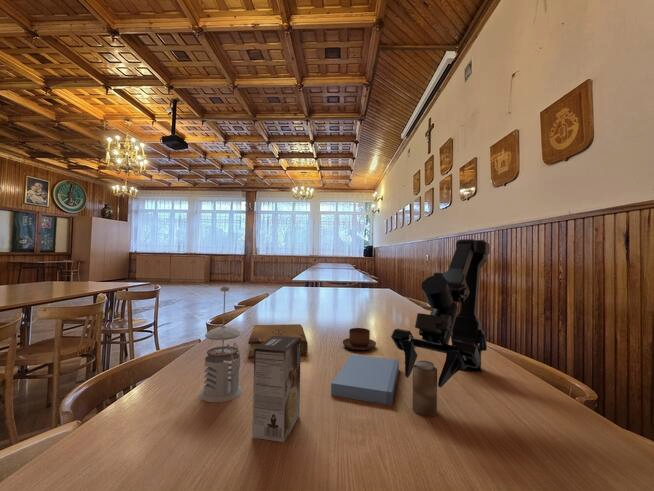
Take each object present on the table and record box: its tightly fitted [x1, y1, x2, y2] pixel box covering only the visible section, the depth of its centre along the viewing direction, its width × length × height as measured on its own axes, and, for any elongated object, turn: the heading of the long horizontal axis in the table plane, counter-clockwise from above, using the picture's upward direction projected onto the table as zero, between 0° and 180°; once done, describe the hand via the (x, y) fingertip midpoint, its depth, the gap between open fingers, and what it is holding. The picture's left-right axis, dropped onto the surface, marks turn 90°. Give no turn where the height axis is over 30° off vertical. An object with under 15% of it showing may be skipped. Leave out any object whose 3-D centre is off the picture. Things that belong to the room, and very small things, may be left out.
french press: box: [198, 285, 244, 403], centre depth 71 cm, size 10×12×25 cm
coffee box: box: [251, 336, 302, 443], centre depth 57 cm, size 9×6×16 cm
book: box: [330, 353, 400, 406], centre depth 79 cm, size 14×22×3 cm, turn 163°
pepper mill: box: [411, 360, 438, 418], centre depth 65 cm, size 5×5×10 cm
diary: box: [247, 323, 308, 359], centre depth 107 cm, size 23×19×6 cm
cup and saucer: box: [342, 327, 377, 351], centre depth 108 cm, size 12×12×6 cm
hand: (422, 381), depth 64 cm, fingers open, 7 cm apart
